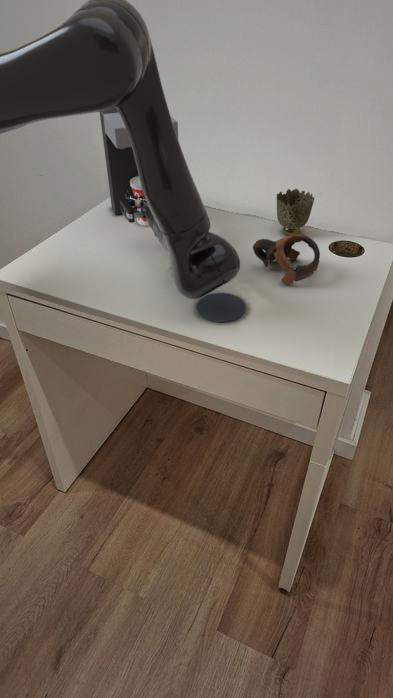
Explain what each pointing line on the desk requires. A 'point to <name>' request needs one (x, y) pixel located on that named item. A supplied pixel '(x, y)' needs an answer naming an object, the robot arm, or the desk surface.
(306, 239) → the leather belt
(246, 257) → the desk surface
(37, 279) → the desk surface
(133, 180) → the beverage cup
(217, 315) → the coaster
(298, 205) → the cup
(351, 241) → the desk surface
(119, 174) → the coffee machine
